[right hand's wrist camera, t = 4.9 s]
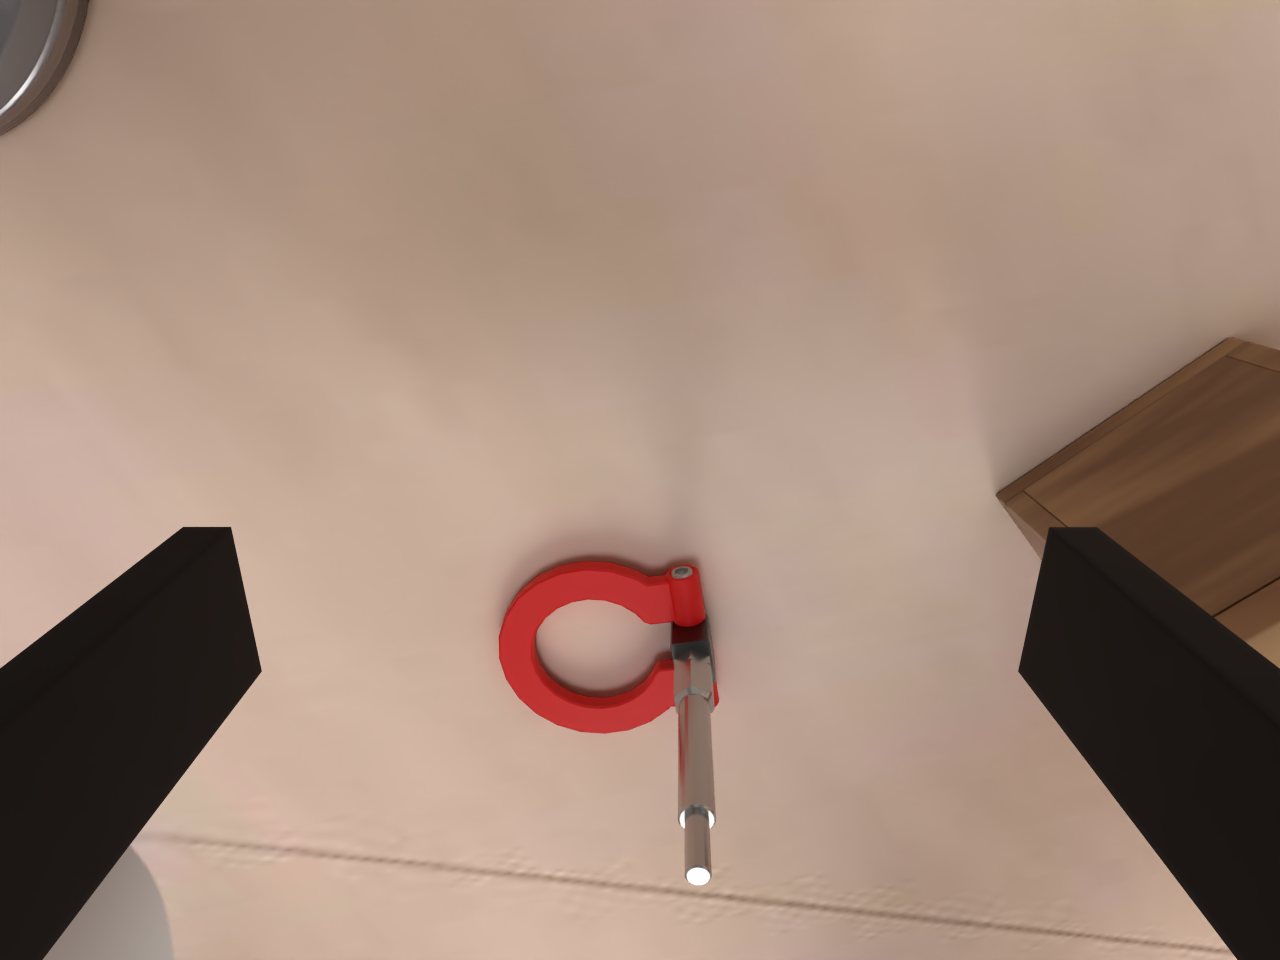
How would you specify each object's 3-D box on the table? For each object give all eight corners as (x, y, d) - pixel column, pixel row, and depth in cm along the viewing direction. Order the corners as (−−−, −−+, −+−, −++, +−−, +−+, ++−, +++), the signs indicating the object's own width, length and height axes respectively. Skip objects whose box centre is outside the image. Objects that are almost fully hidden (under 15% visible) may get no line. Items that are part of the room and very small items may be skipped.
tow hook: (526, 726, 36) (723, 705, 35) (451, 997, 24) (743, 976, 23) (484, 569, 33) (697, 541, 32) (373, 790, 22) (706, 756, 20)
